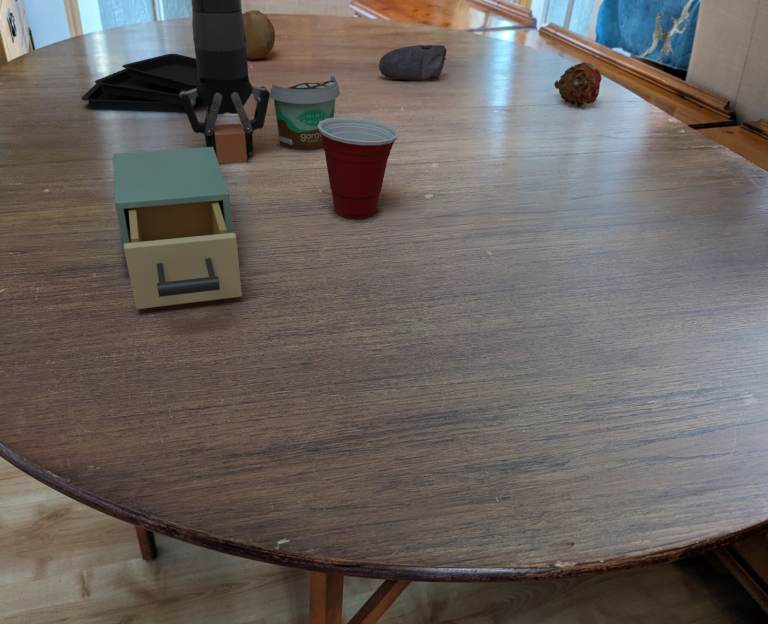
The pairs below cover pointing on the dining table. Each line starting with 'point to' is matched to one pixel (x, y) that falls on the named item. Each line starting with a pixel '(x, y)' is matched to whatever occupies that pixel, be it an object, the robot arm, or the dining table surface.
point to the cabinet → (167, 182)
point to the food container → (303, 112)
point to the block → (230, 143)
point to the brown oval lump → (258, 34)
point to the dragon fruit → (579, 84)
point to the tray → (146, 85)
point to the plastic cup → (356, 162)
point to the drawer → (181, 255)
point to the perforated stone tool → (414, 62)
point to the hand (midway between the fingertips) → (230, 155)
